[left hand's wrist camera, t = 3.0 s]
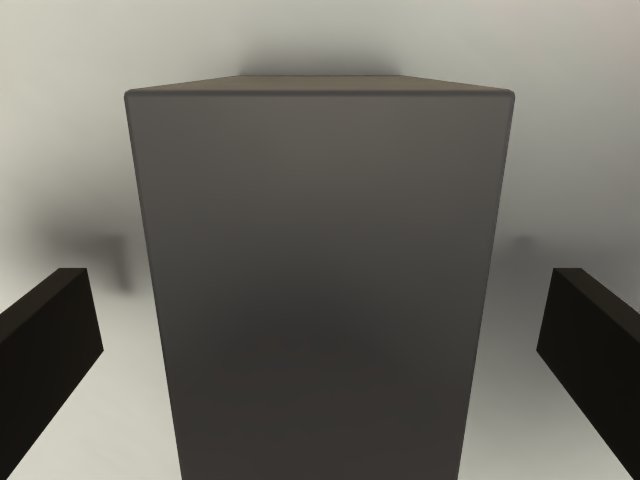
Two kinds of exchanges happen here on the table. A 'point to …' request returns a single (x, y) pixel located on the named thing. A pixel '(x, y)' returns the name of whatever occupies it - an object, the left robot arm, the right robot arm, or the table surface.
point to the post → (319, 268)
